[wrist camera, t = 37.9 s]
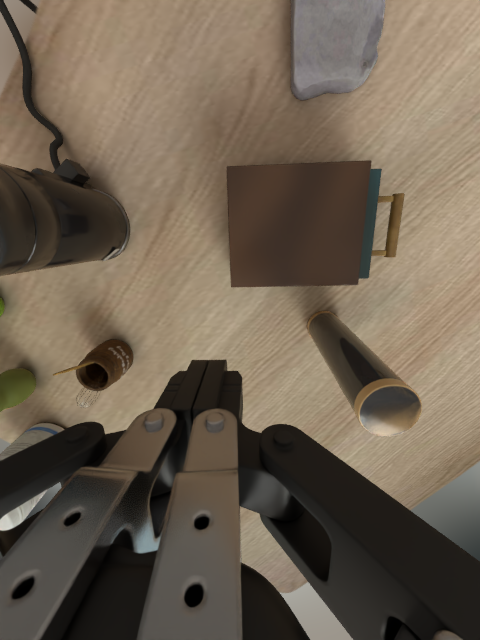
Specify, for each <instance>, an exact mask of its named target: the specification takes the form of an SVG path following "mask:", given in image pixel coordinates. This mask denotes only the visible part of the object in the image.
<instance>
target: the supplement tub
mask: <svg viewBox="0 0 480 640" xmlns="http://www.w3.org/2000/svg"><path fill="white" fill-rule="evenodd" d="M63 430H65V429H63V428H62V427H60V426H57V425H54V424H50V423H40V424H36V425H34V426H32V427H30V428H29V429H28V430H27V431H26V432H24V433H23V434H22V435H21V436H20V437H19V438H18V439H16V440H15V441H14V442H13V443H12V444H11V445H10V446H9V447H7V448H6V449H5V450H4V451H3V452H2V453H1V454H0V461H1V460H3V459H5V458H7V457H9V456H11V455H13V454H15V453H17V452H19V451H21V450H24V449H26V448H28V447H30V446H32V445H34V444H36V443H38V442H40V441H42V440H44V439H46V438H48V437H51V436H53V435H55V434H57V433H59V432H61V431H63ZM47 490H48V489H47ZM47 490H45V491H44V492H42V493H40V494H39V495H37V496H35V497H34V498H32V499H30V500H29V501H27V502H25V503H24V504H22V505H20V506H19V507H17V508H15V509H14V510H12V511H10V512H9V513H7V514H6V515H5V516H3V517H2V518H1V519H0V530H2V531H4V530H9V529H12V528H14V527H15V526H17V525H19V524H20V523H22V522H23V520H24V519H25V518H26V517H27V515H28V514H29V513H30V511H31V510H32V509H33V508H34V506H35V505H36V504H37V503H38V501H39V500H40V499H41V497H42V496H43V495H44V493H45V492H46V491H47Z"/></svg>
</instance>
